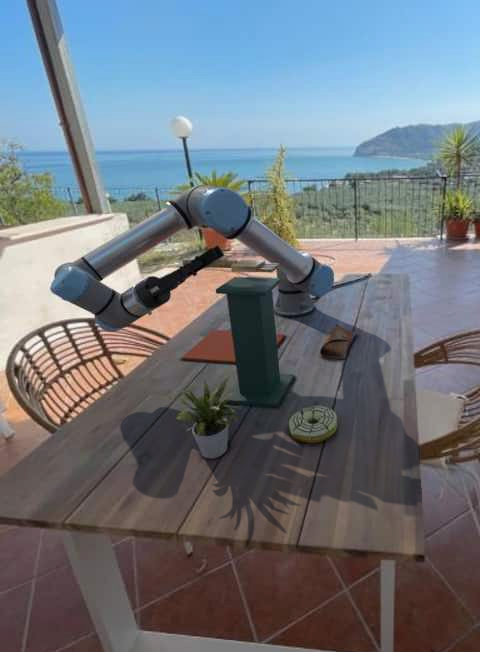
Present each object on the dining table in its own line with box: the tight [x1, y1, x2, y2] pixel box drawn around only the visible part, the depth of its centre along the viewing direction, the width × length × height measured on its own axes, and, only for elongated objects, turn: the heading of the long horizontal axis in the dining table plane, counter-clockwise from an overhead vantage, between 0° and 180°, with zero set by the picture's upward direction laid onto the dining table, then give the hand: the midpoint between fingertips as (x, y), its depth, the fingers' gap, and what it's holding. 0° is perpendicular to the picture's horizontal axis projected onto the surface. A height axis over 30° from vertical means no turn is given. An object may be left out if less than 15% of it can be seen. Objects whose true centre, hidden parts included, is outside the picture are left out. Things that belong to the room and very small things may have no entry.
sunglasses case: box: [319, 323, 359, 360], centre depth 126 cm, size 18×7×7 cm, turn 169°
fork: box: [182, 257, 279, 274], centre depth 91 cm, size 6×23×2 cm, turn 82°
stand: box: [215, 276, 295, 408], centre depth 98 cm, size 14×14×30 cm
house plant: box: [161, 375, 238, 459], centre depth 78 cm, size 14×14×16 cm
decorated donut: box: [288, 405, 338, 444], centre depth 87 cm, size 10×11×4 cm
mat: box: [181, 329, 286, 365], centre depth 125 cm, size 20×26×1 cm
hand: (217, 252), depth 91 cm, fingers closed on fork, 2 cm apart
